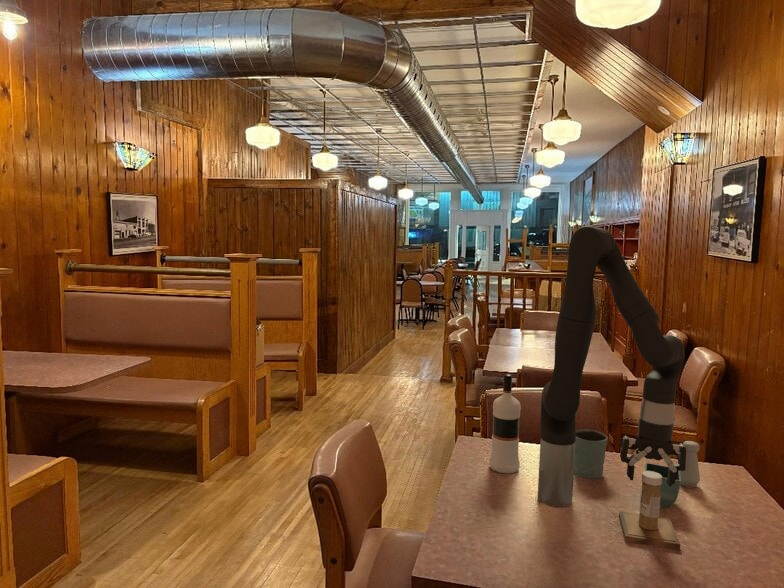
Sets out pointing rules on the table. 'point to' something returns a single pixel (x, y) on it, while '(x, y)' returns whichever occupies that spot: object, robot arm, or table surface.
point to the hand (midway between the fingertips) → (649, 481)
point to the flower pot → (667, 492)
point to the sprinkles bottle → (650, 500)
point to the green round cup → (589, 453)
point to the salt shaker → (690, 465)
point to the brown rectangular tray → (648, 532)
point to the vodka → (505, 431)
